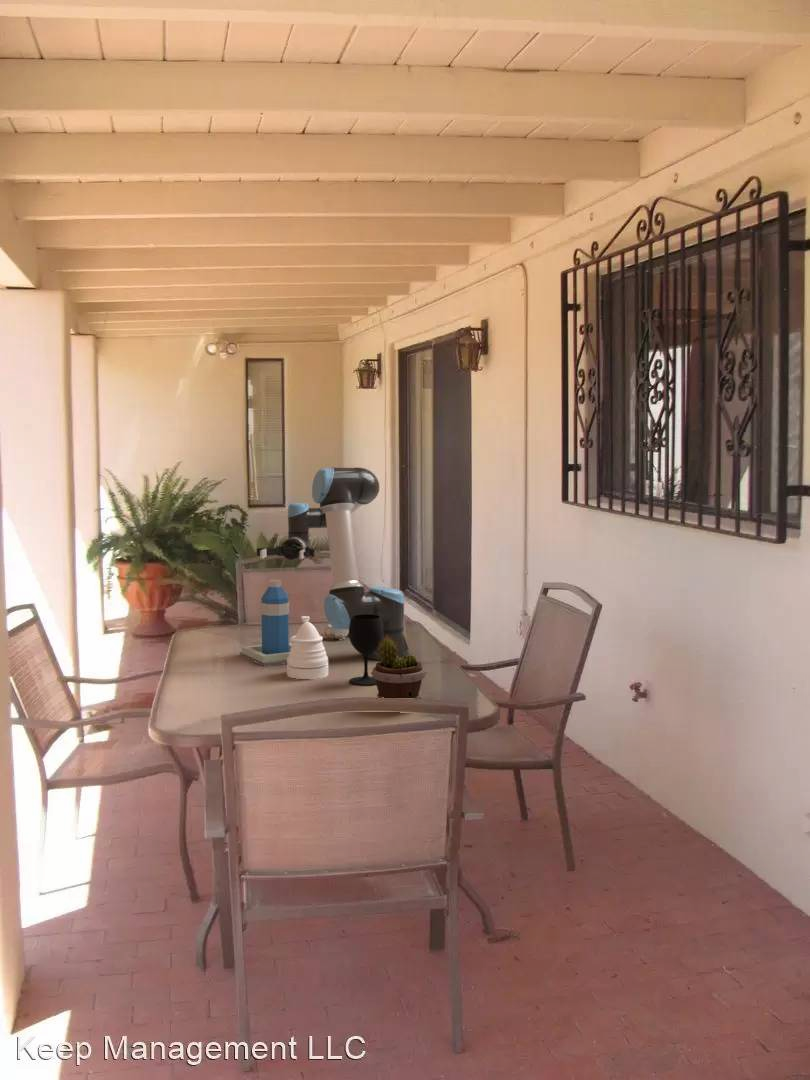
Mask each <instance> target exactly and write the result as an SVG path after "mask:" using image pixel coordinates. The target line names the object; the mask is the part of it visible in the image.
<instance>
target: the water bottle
mask: <svg viewBox="0 0 810 1080" xmlns="http://www.w3.org/2000/svg"><path fill="white" fill-rule="evenodd" d="M289 600H290V596H289V595H288V593H287V592H286V591H285V589H284V588H283V586H282V580H280V579H270V580H268V587H267V589H266V590H265V592H264V593H263V595H262V596H261V600H260V601H261V645H262V653H263V654H266V655H268V654H276V653H284V652H289V643H290V609H289V608H290V606H289V605H290V601H289Z"/></svg>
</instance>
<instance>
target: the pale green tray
mask: <svg viewBox="0 0 810 1080" xmlns="http://www.w3.org/2000/svg"><path fill="white" fill-rule="evenodd" d="M292 644H293V642H289V652H290V648H291V647H292ZM289 652H284V653H276V654H268V655H266V654H263V653H262V644H257V645H248V646H242V647H241V651H239V656H241V655H242V656H241V657H243V656H244V657H243V658H245V657H246V659H247V658H249V659H248V660H250V659H251V660H250V661H252V660H253V662H254V661H256V662H258V663H260V664H259V665H261V664H262V665H261V666H263V665H265V666H266V667H270V666H269V665H274V666H276V665H275V664H282V663H287V658H288V656H289ZM256 662H255V663H256ZM258 663H257V664H258ZM282 665H283V664H282ZM265 666H264V667H265Z"/></svg>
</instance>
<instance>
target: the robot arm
mask: <svg viewBox="0 0 810 1080" xmlns="http://www.w3.org/2000/svg"><path fill="white" fill-rule="evenodd" d="M379 492H380V482H379V479H378V477H377V476H376V475H375V473H374V472H372V470H369V469H367V468H364V467H325V468H320V469H318V470H317V472H316V473H315V475H314V477H313V481H312V487H311V494H312V496H311V497H312V499H313V502H314V503H315V504H319V507H310V506H309V504H308V503H306V502H294V503H289V505H288V509H287V525H288V526H287V527H288V530H287V531H288V532H287V535H288V536H287V538H288V539H286V540H284V541H283V543H282V544H281V545H277V546H275V545H272V546H268V547H267V546H266V547H259V548H258V547H257V548H256V556H257V557H259V558H260V560H261V559H262V560H263V559H265V558H267V557H268V556H278V557H282V556H283V557H284V558H285V559H287V560H290V561H293V560H297V559H298V558H299V560H303V559H304V558H308V557H315V556H316V555H315V549H314V548H312V547H311V540H310V537H309V536H310V535H309V534H310V531H309V529H326V530H327V531H326V533H327V540H328V541H327V542H328V551H329V561H330V569H331V570H330V571H331V578H332V579H331V580H332V585H331V587H330V588H329V589H328V592H329V593H328V594H327V595H326V596H325V597H324V601H323V602H324V604H323V607H324V608H323V609H324V615H325V617H326V619H327V621H328V624H330V625H331V626H332V627H333V628H335V629H346V630H347V629H349V625H350V621H351V618H352V616H354V615H360V614H372V615H378V616H380V617H381V620H382V625H383V636H384V637H386V638H387V639H388V638H390V639H392V641H394V643H395V641H396V642H397V643H396V644H398V645H397V646H398V647H397V646H396V647H397V649H398V650H397V652H396V655H399V656H398V657H399V658H402V657H403V656H405V654H406V653H407V652H408V653H409V654H410V652H409V651H410V649H409V645H408V643H407V640H406V636H405V632H404V630H405V596H404V592H403V591H402V590H400V589H398V588H397V589H396V588H392V587H385V586H370V587H369V589H368V591H367V592H366V591H365V586H364V585H363V584H362V583H361V582H360V581H359V574H358V565H357V553H356V546H355V545H356V544H355V536H354V526H353V519H352V518H353V517H352V514H353V513H354V512H356V511H357V510H358V509H359V508H360V507H362V506H363V505H365V506H366V505H369V504H370V503H372V502H373V501H374V500H375V499H376V498H377V497H378V495H379ZM386 634H387V635H386ZM387 636H388V637H387ZM384 637H383V639H382V642H383V641H384V639H385V638H384ZM391 637H392V638H391ZM393 639H394V640H393ZM396 644H395V645H396ZM380 647H381V644H380ZM378 649H380V648H379V647H378V648H377V649H376V650H375V651H374V652H373V653H371V654H370V655H369V657H368V660H375V661H381V659H382V658H381V657H380V656H381V655H378V654H379V652H380V650H378ZM377 650H378V651H377ZM398 651H399V652H398ZM380 653H381V652H380ZM408 653H407V654H408ZM379 657H380V658H379ZM398 657H396V658H398ZM399 658H398V659H399Z"/></svg>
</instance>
